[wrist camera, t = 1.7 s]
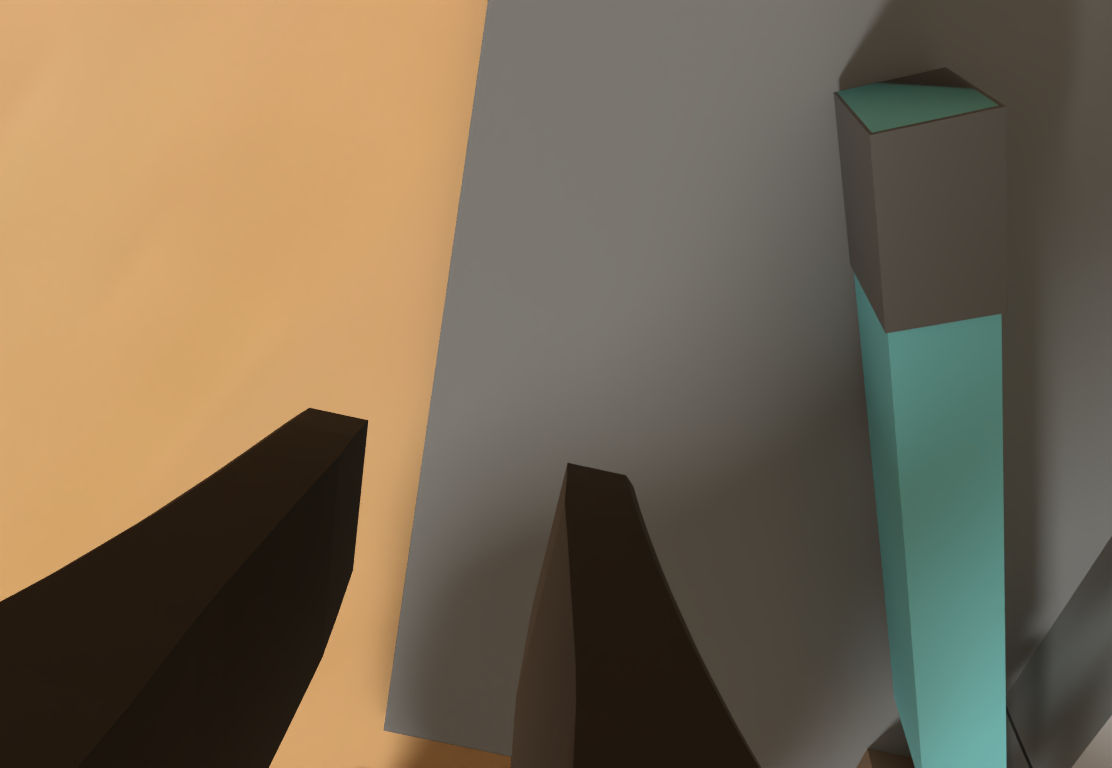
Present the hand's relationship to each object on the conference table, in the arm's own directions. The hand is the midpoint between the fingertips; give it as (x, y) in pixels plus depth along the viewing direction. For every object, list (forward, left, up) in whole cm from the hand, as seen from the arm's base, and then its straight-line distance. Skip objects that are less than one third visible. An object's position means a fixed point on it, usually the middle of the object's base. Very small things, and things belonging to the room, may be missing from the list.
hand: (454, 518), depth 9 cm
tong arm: (-2, -8, -8) cm, 11 cm away
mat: (-3, -8, -8) cm, 12 cm away
